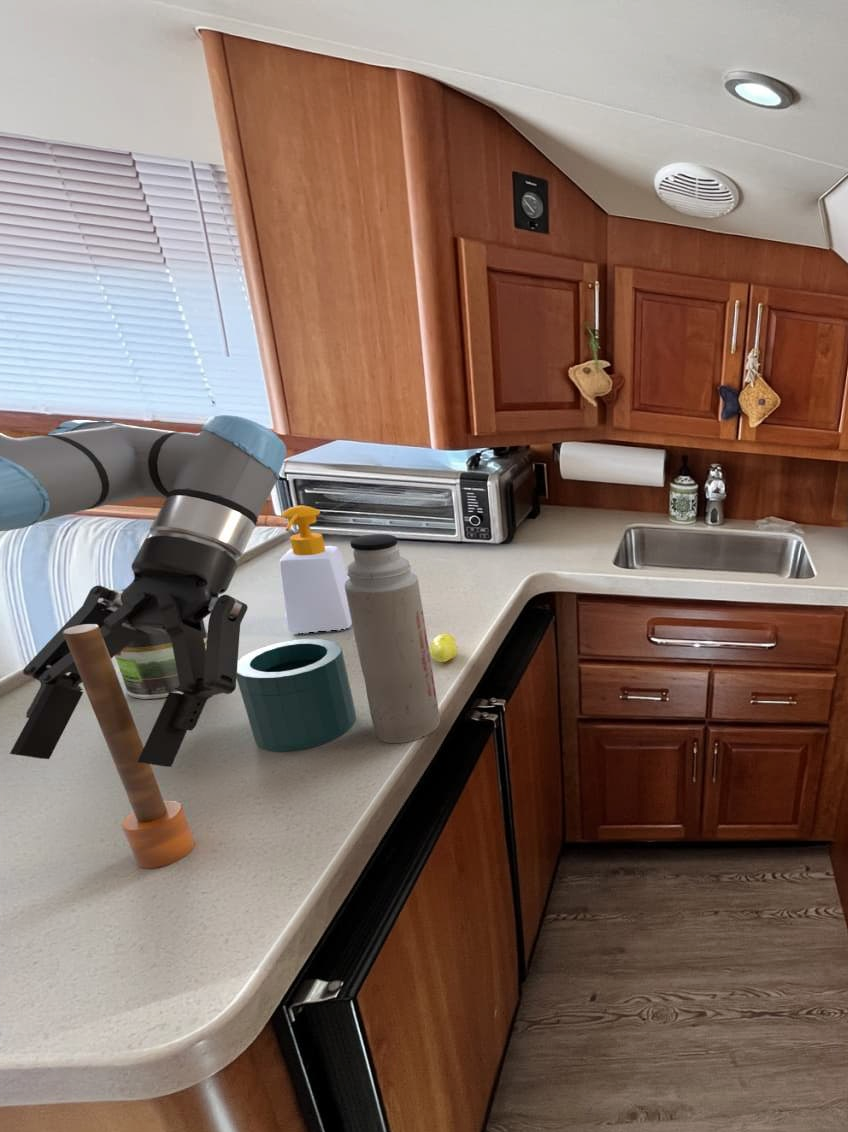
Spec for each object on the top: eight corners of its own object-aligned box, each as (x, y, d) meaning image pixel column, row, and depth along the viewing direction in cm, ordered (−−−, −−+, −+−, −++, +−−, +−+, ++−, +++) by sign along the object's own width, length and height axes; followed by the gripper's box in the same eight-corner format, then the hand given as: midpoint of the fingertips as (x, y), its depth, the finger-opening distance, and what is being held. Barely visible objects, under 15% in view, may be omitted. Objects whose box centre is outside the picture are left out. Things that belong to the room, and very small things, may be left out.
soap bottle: (279, 648, 107) (246, 521, 99) (300, 616, 119) (272, 500, 110) (347, 642, 111) (321, 519, 103) (360, 611, 123) (338, 499, 114)
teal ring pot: (247, 760, 81) (225, 684, 77) (262, 715, 89) (243, 646, 85) (353, 739, 86) (338, 668, 82) (358, 699, 95) (344, 633, 91)
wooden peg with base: (130, 874, 64) (33, 642, 54) (144, 845, 67) (56, 622, 57) (189, 860, 66) (106, 634, 56) (199, 832, 69) (123, 616, 59)
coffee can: (153, 706, 89) (120, 615, 84) (110, 688, 93) (77, 599, 87) (236, 675, 98) (212, 591, 93) (195, 659, 102) (169, 578, 96)
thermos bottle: (445, 709, 94) (417, 528, 84) (433, 740, 87) (401, 547, 77) (384, 714, 92) (348, 529, 82) (366, 746, 85) (324, 548, 75)
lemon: (460, 646, 113) (458, 626, 111) (456, 667, 106) (453, 646, 105) (433, 648, 111) (430, 628, 110) (428, 670, 104) (424, 649, 103)
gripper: (327, 572, 71) (249, 774, 62) (116, 557, 70) (8, 758, 62) (280, 540, 64) (185, 762, 55) (46, 523, 63) (-87, 745, 55)
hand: (92, 760), depth 59 cm, fingers open, 10 cm apart
